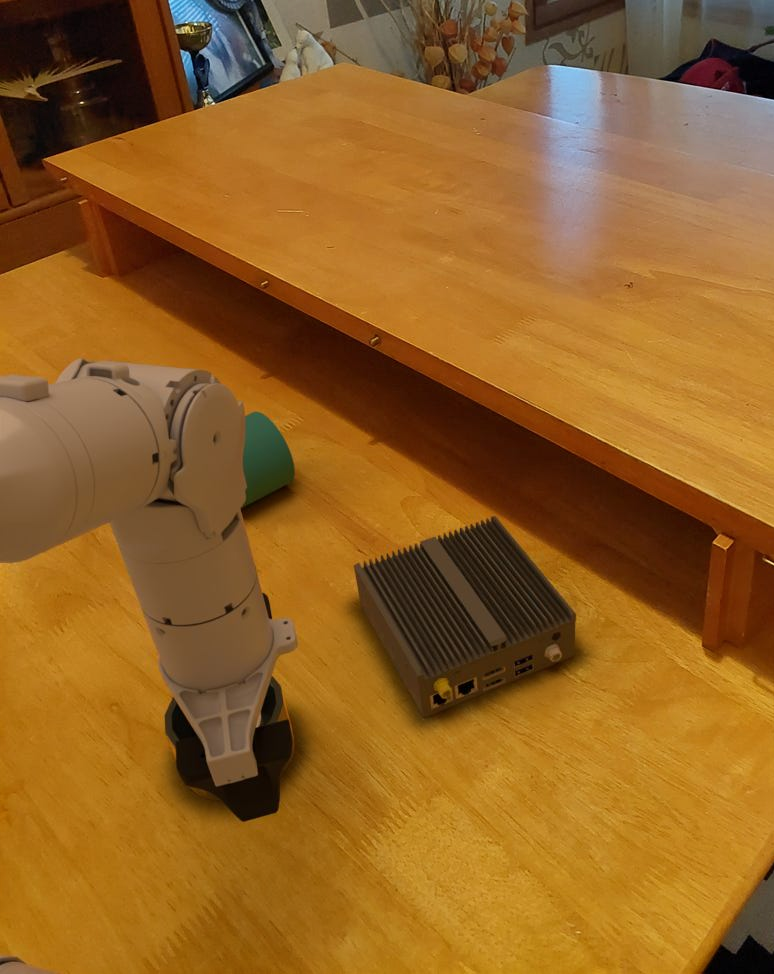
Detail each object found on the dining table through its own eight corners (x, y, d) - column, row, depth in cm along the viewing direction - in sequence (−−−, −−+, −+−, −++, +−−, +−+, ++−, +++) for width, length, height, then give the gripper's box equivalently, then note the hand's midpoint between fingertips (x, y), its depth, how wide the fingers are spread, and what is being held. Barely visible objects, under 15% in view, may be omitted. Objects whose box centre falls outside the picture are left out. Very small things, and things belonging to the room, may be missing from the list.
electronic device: (429, 730, 68) (423, 683, 65) (358, 602, 79) (350, 558, 76) (582, 665, 72) (583, 619, 69) (494, 553, 83) (492, 509, 80)
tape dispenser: (242, 526, 88) (224, 459, 83) (165, 464, 97) (146, 400, 92) (300, 495, 91) (286, 429, 87) (221, 437, 100) (205, 375, 96)
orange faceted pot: (246, 819, 62) (230, 774, 59) (158, 775, 66) (139, 729, 63) (316, 733, 68) (305, 687, 65) (232, 695, 71) (218, 650, 68)
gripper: (299, 670, 41) (341, 844, 49) (264, 485, 52) (303, 652, 60) (134, 711, 39) (206, 884, 48) (135, 512, 51) (193, 679, 59)
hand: (252, 756), depth 54 cm, fingers open, 7 cm apart
